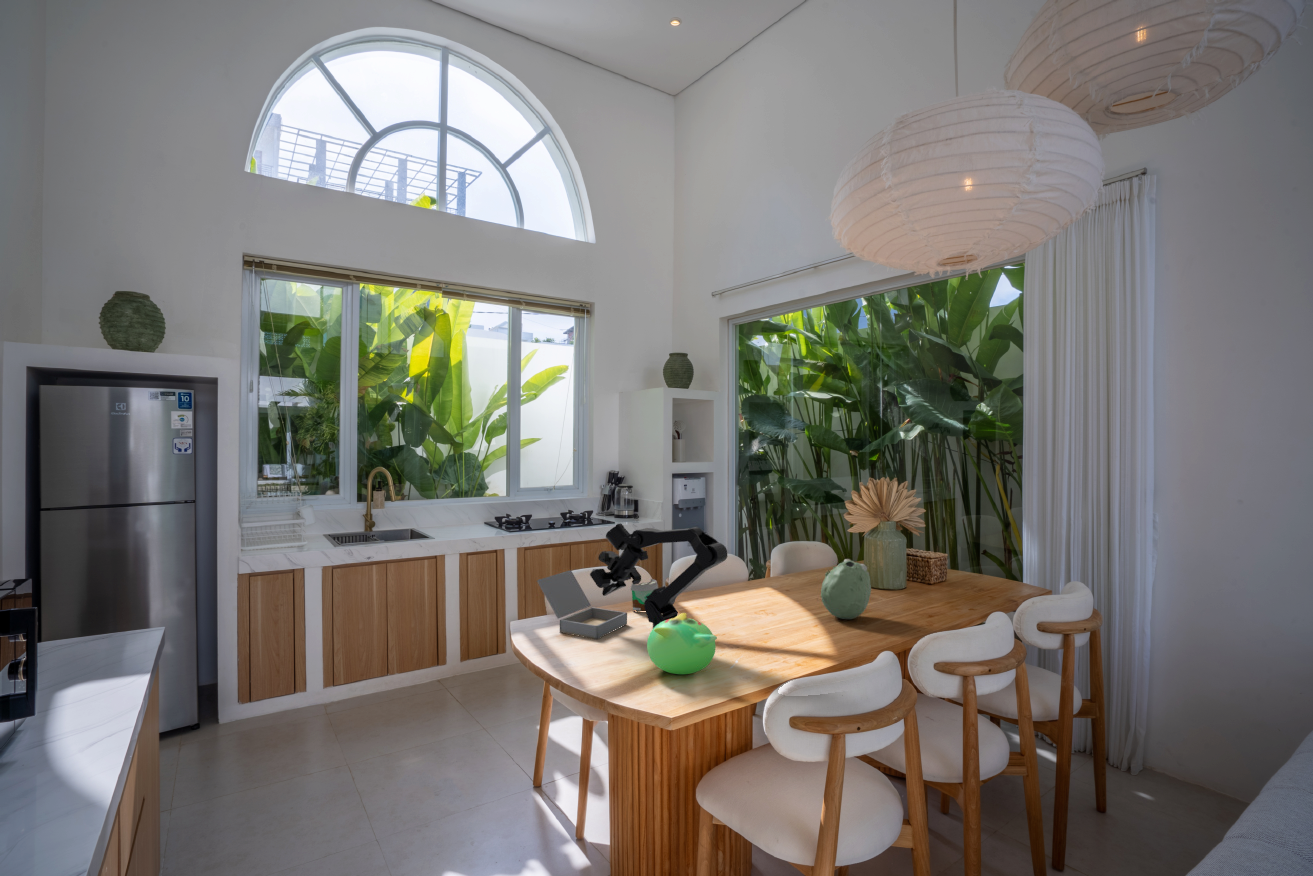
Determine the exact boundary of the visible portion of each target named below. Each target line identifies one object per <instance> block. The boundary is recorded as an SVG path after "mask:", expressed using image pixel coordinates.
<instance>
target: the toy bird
mask: <svg viewBox="0 0 1313 876" xmlns="http://www.w3.org/2000/svg"><path fill="white" fill-rule="evenodd" d="M716 640H717V635H714V634H713V632H712V630H711V629H710V628H709V626H707V625H706V624H704V623H703V622H701V621H700V620H696V619H694V618H690V617H687V613H686V612H681V613H680V614H679V613H678V615H677V616H676V617H675V618H671V619H668V620H665V621H662V622H661V623H659V624H658V625H656V626H655V627H654V628H653V627H652V629H651V631H650V632H649V635H648V637H647V643H646V650H647V653H648V657H649V659H650V660H651V662H652V663H653V665H655V666H656V667H657V668H659V669H660V670H662V671H664V672H665V673H666V672H667V673H668V674H669V673H670V674H674V675H688V674H689V675H690V674H694V673H697V672H699V671H702V670H703V669H705V668H706V667H707V666H708V665H710V663H711V662H712V660H713V659H714V656H715V652H716V649H717V648H716V645H717V644H716Z"/></svg>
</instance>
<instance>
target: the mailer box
mask: <svg viewBox="0 0 1313 876" xmlns="http://www.w3.org/2000/svg"><path fill="white" fill-rule="evenodd" d="M625 624H627V625H628V612H624V611H620V610H611V609H606V608H600V607H594V606H593V607H591V606H590V607H588V608H585V609H583V610H582V611H581V610H580V611H578V612H577V613H576V612H575V613H573V614H570V615H569V616H565V617H564V618H562V619H561V618H560V619H559V633H560V632H563V633H562V634H564V633H568V634H567V635H570V634H574V635H573V636H575V635H579V636H578V637H580V636H584V637H583V638H586V637H587V638H586V639H591V638H592V640H599V639H601V638H603V637H604V636H603V635H605V634H607V633H609V632H611V631H613V630H615V629H617V628H619V627H621V626H623V625H625ZM621 628H622V627H621ZM619 629H620V628H619ZM617 630H618V629H617ZM615 631H616V630H615ZM613 632H614V631H613ZM611 633H612V632H611ZM609 634H610V633H609ZM607 635H608V634H607ZM602 636H603V637H602ZM605 636H606V635H605ZM600 637H601V638H600Z"/></svg>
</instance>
